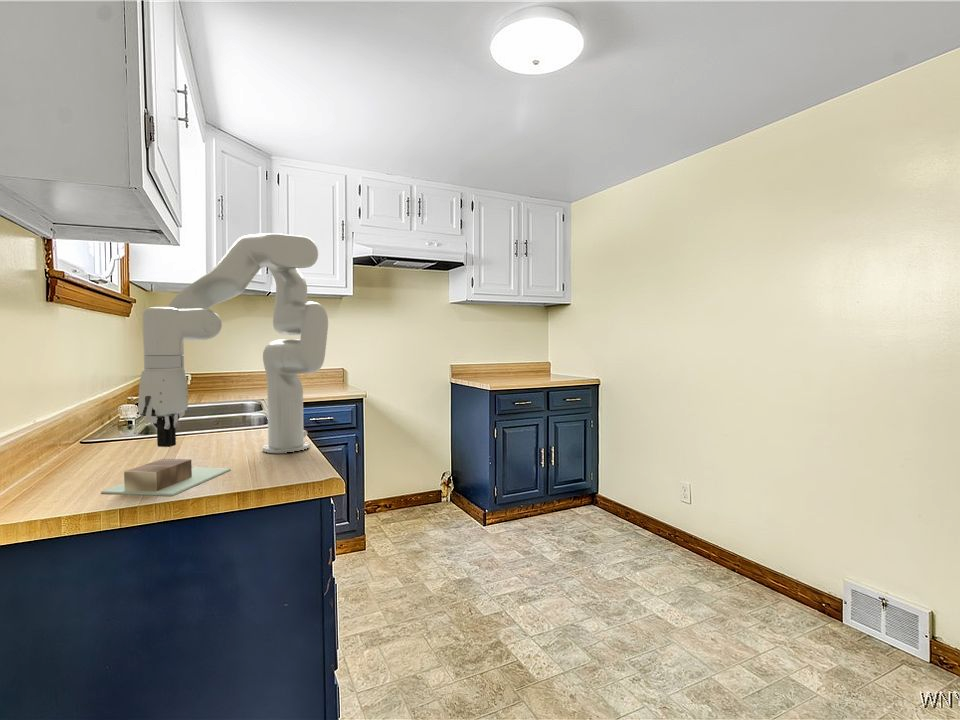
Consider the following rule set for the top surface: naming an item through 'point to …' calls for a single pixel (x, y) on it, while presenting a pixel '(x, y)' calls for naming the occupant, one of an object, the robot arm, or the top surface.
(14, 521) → the top surface
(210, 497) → the top surface
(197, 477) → the sage mat
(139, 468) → the walnut slab
